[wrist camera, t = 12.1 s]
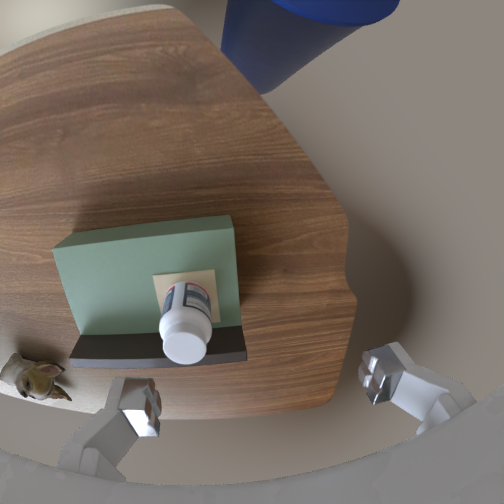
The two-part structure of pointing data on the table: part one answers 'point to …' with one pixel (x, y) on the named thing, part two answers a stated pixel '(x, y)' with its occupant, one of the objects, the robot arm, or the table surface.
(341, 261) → the table surface
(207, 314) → the pill bottle
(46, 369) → the ceramic sculpture
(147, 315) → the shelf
